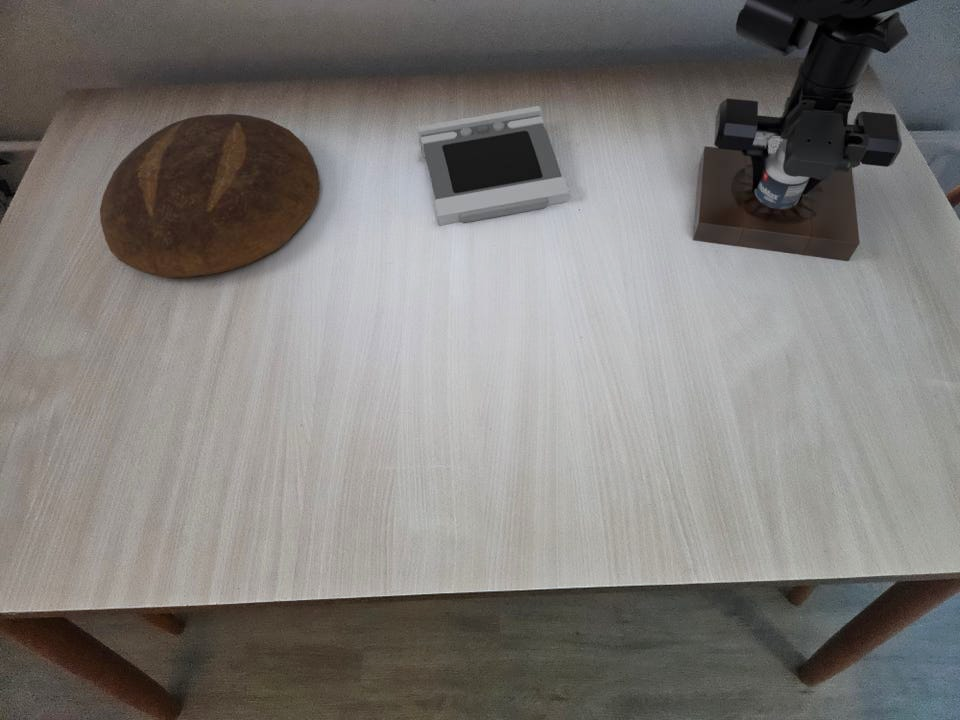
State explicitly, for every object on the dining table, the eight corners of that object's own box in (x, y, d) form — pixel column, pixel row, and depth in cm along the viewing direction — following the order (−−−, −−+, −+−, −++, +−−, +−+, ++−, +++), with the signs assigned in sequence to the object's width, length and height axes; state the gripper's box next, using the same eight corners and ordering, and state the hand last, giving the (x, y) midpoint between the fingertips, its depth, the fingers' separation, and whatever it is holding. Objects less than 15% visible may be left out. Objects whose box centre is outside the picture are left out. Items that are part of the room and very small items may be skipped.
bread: (82, 295, 79) (37, 246, 72) (136, 148, 94) (104, 95, 86) (311, 280, 79) (290, 230, 71) (330, 135, 93) (314, 81, 86)
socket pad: (841, 180, 83) (851, 162, 81) (848, 261, 76) (859, 243, 74) (699, 164, 86) (704, 146, 84) (692, 240, 79) (698, 222, 77)
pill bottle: (741, 197, 81) (763, 139, 74) (777, 185, 82) (802, 126, 75) (766, 225, 79) (791, 167, 71) (802, 212, 79) (831, 154, 72)
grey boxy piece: (538, 105, 89) (571, 176, 79) (538, 135, 93) (569, 206, 83) (417, 126, 88) (435, 201, 78) (422, 155, 92) (439, 230, 82)
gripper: (733, 112, 63) (696, 226, 76) (942, 132, 59) (865, 248, 73) (736, 46, 68) (701, 163, 81) (926, 62, 65) (858, 181, 78)
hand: (778, 189), depth 78 cm, fingers closed on pill bottle, 5 cm apart
